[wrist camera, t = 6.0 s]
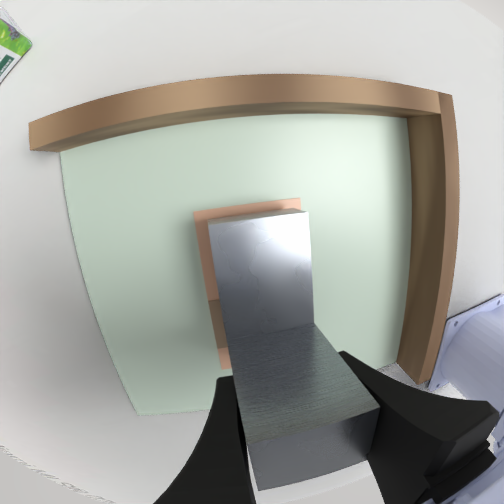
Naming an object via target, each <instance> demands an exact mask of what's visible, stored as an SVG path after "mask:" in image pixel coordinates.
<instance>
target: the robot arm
mask: <svg viewBox="0 0 504 504" xmlns="http://www.w3.org/2000/svg"><path fill="white" fill-rule="evenodd" d="M338 354H339V355H340V356H341V357H342V359H343V360H344V361H345V362H346V364H347V365H348V366H349V367H350V369H351V370H352V371H353V373H354V374H355V375H356V376H357V378H358V379H359V380H360V381H361V383H362V384H363V385H364V387H365V388H366V389H367V390H368V392H369V393H370V394H371V395H372V397H373V398H374V399H375V401H376V402H377V403H378V404H379V406H380V411H379V415H378V420H377V424H376V428H375V432H374V436H373V440H372V444H371V448H370V451H369V455H368V459H367V460H368V462H369V464H370V467H371V469H372V471H373V474H374V476H375V479H376V481H377V483H378V486H379V489H380V492H381V494H382V497H383V500H384V503H385V504H504V294H501V295H499V296H498V297H496V298H494V299H492V300H490V301H488V302H486V303H484V304H482V305H479V306H477V307H475V308H473V309H471V310H469V311H467V312H464V313H462V314H460V315H458V316H456V317H453V318H451V319H449V320H448V321H447V323H446V326H445V330H444V334H443V338H442V342H441V346H440V350H439V354H438V357H437V361H436V364H435V368H434V371H433V374H432V378H431V381H430V384H429V387H428V389H429V391H434V390H436V389H438V388H440V387H441V386H443V385H445V384H447V383H449V382H450V383H451V384H452V385H453V386H454V387H455V388H456V389H457V390H458V391H459V392H460V393H461V394H462V395H463V396H464V397H465V398H466V399H467V400H463V399H456V398H449V397H444V396H440V395H436V394H432V393H428V392H425V391H421V390H419V389H416V388H413V387H410V386H408V385H405V384H403V383H401V382H399V381H396V380H394V379H392V378H390V377H388V376H386V375H384V374H382V373H381V372H379V371H377V370H375V369H374V368H372V367H370V366H368V365H367V364H365V363H363V362H362V361H360V360H359V359H357V358H355V357H354V356H352V355H351V354H349V353H347V352H346V351H344V350H343V351H340V352H338ZM494 427H495V429H494V431H493V432H492V430H493V428H494ZM491 432H492V433H491ZM490 433H491V435H492V436H493V437H494V438H495V442H494V445H493V447H494V448H493V449H494V453H492V452H491V451H490V450H489V449H488V447H489V446H490V443H489V442H488V441H487V440H486V439H487V438H488V436H489V435H490ZM153 504H256V500H255V496H254V492H253V488H252V484H251V479H250V472H249V464H248V455H247V445H246V437H245V433H244V428H243V423H242V418H241V413H240V408H239V403H238V398H237V393H236V388H235V383H234V378H233V375H230V376H224V377H218V379H217V380H216V388H215V394H214V398H213V402H212V406H211V409H210V412H209V416H208V419H207V421H206V424H205V426H204V429H203V432H202V434H201V436H200V438H199V440H198V443H197V445H196V447H195V448H194V450H193V452H192V454H191V456H190V457H189V459H188V461H187V462H186V464H185V466H184V467H183V469H182V470H181V472H180V473H179V474H178V476H177V477H176V478H175V479H174V481H173V482H172V483H171V485H170V486H169V487H168V488H167V490H166V491H165V492H164V493H163V494H162V495H161V496H160V497H159V498H158V499H157V500H156V501H155V502H154V503H153Z"/></svg>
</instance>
